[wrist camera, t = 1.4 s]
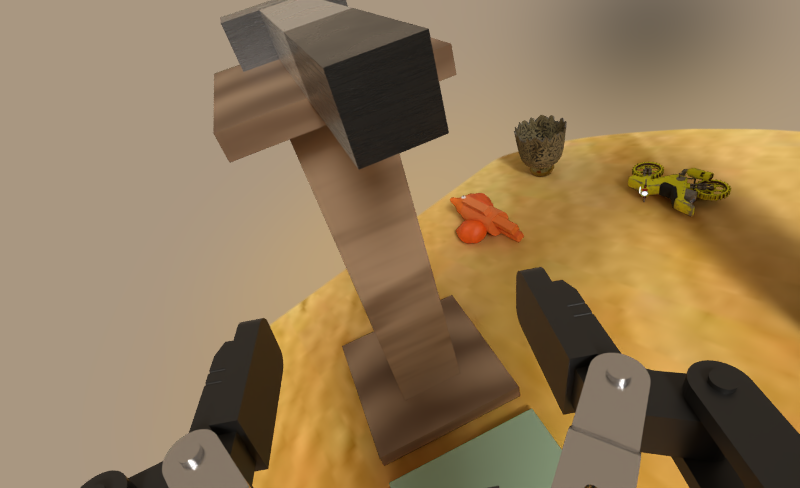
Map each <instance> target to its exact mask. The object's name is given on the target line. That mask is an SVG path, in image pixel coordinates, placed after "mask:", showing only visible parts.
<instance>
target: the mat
mask: <svg viewBox="0 0 800 488" xmlns="http://www.w3.org/2000/svg"><path fill="white" fill-rule="evenodd" d="M561 452H562V450H561V448H560V447H559V445H558V444H557V443H556V441H555V440H554V439H553V437H552V436H551V434H550V433H549V432H548V430H547V429H546V427H545V426H544V425H543V423H542V422H541V421H540V419H539V418H538V416H537V415H536V414H535V412H534V411H533V409H532V408H531V409H530V410H528V411H526V412H524V413H522V414H520V415H518V416H516V417H514V418H512V419H510V420H509V421H507V422H505V423H503V424H501V425H499V426H497V427H495V428H493V429H491V430H489V431H487V432H486V433H484V434H482V435H480V436H478V437H476V438H474V439H472V440H470V441H468V442H466V443H464V444H463V445H461V446H459V447H457V448H455V449H453V450H451V451H449V452H447V453H445V454H443V455H442V456H440V457H438V458H436V459H434V460H432V461H430V462H428V463H426V464H424V465H422V466H420V467H419V468H417V469H415V470H413V471H411V472H409V473H407V474H405V475H403V476H401V477H399V478H397V479H396V480H394V481H392V482H390V483H389V485H390V488H488V487H493V486H499V488H551V486H552V482H553V479H554V476H555V472H556V469H557V465H558V462H559V459H560V455H561Z"/></svg>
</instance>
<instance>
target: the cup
mask: <svg viewBox="0 0 800 488" xmlns="http://www.w3.org/2000/svg"><path fill="white" fill-rule="evenodd" d="M565 131H566V121H565V122H564V119H563V118H561V119H560V121H559V122H558V121H555V120H554V116H552V115H551V116H550V117H549V118H547V117H546V116H543V115H540V116H539V117H538V118H537V119H536V120H535V121H534V119H533V118H530V120H529V123H528V122H527V121H523V122H522V124H521V123H520V122H519V125H518V128H516V127H515V131H514V133H515V137H516V142H517V146H518V151H519V154H520V157H521V159H522V161H523V162H524V163H525V164H526V165H527V166H529V167H530V171H531V173H532V174H533V175H536V176H545V175H548V174H550V173H551V172H552V171H553V169H554V164H555V163H557V162H558V160H559V159H560V157H561V155H562V152H563V148H564V141H565Z"/></svg>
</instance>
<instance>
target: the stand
mask: <svg viewBox="0 0 800 488" xmlns="http://www.w3.org/2000/svg"><path fill="white" fill-rule="evenodd" d="M430 38H431V37H430ZM431 43H432V48H433V54H434V59H435V64H436V69H437V74H438V79H439V81H441V80H444V79H446V78H449V77H452V76H454V75H456V70H455V64H454V58H453V52H452V46H451V44H450V43H447V42H443V41H440V40H437V39H434V38H431ZM214 135H215V137H216V139H217V141H218V142H219V144H220V146H221V148H222V149H223V151H224V153H225V155H226V157H227V159H228V160H229V162H233V161H235V160H238V159H240V158H243V157H245V156H248V155H251V154H253V153H256V152H258V151H261V150H263V149H266V148H269V147H271V146H274V145H276V144H279V143H281V142H284V141H287V140H289V139H290V141H291V143H292V145H293V148H294V150H295V152H296V154H297V157H298V159H299V161H300V163H301V166H302V168H303V170H304V173H305V175H306V177H307V179H308V182H309V184H310V186H311V189H312V191H313V193H314V195H315V198H316V200H317V202H318V204H319V207H320V209H321V211H322V214H323V216H324V218H325V220H326V223H327V225H328V227H329V229H330V232H331V234H332V236H333V238H334V241H335V243H336V245H337V248H338V250H339V252H340V254H341V256H342V259H343V261H344V263H345V266H346V268H347V270H348V273H349V275H350V277H351V279H352V282H353V284H354V286H355V288H356V291H357V293H358V295H359V298H360V300H361V302H362V304H363V307H364V309H365V311H366V313H367V316H368V318H369V320H370V323H371V325H372V327H373V329H374V332H372V333H369V334H367V335H365V336H363V337H361V338H359V339H357V340H354V341H352V342H350V343H348V344H346V345H344V346H342V347H343V350H344V353H345V356H346V359H347V362H348V365H349V368H350V371H351V374H352V377H353V380H354V383H355V386H356V389H357V392H358V395H359V398H360V401H361V404H362V407H363V410H364V413H365V416H366V419H367V422H368V425H369V428H370V431H371V434H372V437H373V440H374V443H375V446H376V449H377V452H378V455H379V457H380V459H381V461H382V463H383V464H384V466H385V465H387V464H389V463H391V462H393V461H395V460H396V459H398V458H400V457H402V456H404V455H406V454H408V453H410V452H412V451H414V450H416V449H418V448H420V447H422V446H424V445H426V444H428V443H429V442H431V441H433V440H435V439H437V438H439V437H441V436H443V435H445V434H447V433H449V432H451V431H453V430H455V429H457V428H459V427H460V426H462V425H464V424H466V423H468V422H470V421H472V420H474V419H476V418H478V417H480V416H482V415H484V414H486V413H488V412H490V411H492V410H493V409H495V408H497V407H499V406H501V405H503V404H505V403H507V402H509V401H511V400H513V399H515V398H517V397H519V396H520V392H519V386H518V385H517V384H516V382H515V381H514V380H513V378H512V377H511V375H510V374H509V373H508V371H507V370H506V369H505V367H504V366H503V364H502V363H501V362H500V360H499V359H498V358H497V356H496V355H495V353H494V352H493V351H492V349H491V348H490V347H489V345H488V344H487V342H486V341H485V340H484V338H483V337H482V336H481V334H480V333H479V331H478V330H477V329H476V327H475V326H474V325H473V323H472V322H471V320H470V319H469V318H468V316H467V315H466V314H465V312H464V311H463V309H462V308H461V307H460V305H459V304H458V303H457V301H456V300H455V298H454V297H453V296H452V295H451V296H449V297H447V298H444V299H442V300H440V298H439V295H438V291H437V287H436V284H435V280H434V277H433V273H432V269H431V266H430V262H429V259H428V255H427V251H426V248H425V244H424V241H423V237H422V233H421V230H420V226H419V223H418V219H417V215H416V212H415V208H414V205H413V201H412V197H411V194H410V190H409V187H408V183H407V180H406V176H405V172H404V169H403V165H402V161H401V158H400V154H397V155H394V156H392V157H389V158H387V159H384V160H382V161H379V162H377V163H375V164H372V165H370V166H367V167H365V168H362V169H360V170H359V169H358V168H357V167H356V165H355V164H354V163H353V161H352V160H351V158H350V157H349V156H348V154H347V153H346V151H345V150H344V149H343V147H342V146H341V144H340V143H339V142H338V140H337V139H336V137H335V136H334V135H333V133H332V132H331V130H330V129H329V128H328V126H327V125H326V123H325V122H324V121H323V119H322V118H321V117H320V115H319V114H318V112H317V111H316V110H315V108H314V107H313V105H312V104H311V103H310V101H309V100H308V98H307V97H306V96H305V94H304V93H303V91H302V90H301V89H300V87H299V86H298V84H297V83H296V82H295V80H294V79H293V78H292V76H291V75H290V73H289V72H288V71H287V69H286V68H285V66H284V65H283V64H282V62H281V61H280V59H278V60H275V61H273V62H270V63H267V64H264V65H261V66H259V67H256V68H253V69H250V70H248V71H245V72H243V70H242V68H241V66H240V65H238V66H235V67H232V68H229V69H226V70H223V71H221V72H218V73H215V74H214Z"/></svg>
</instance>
